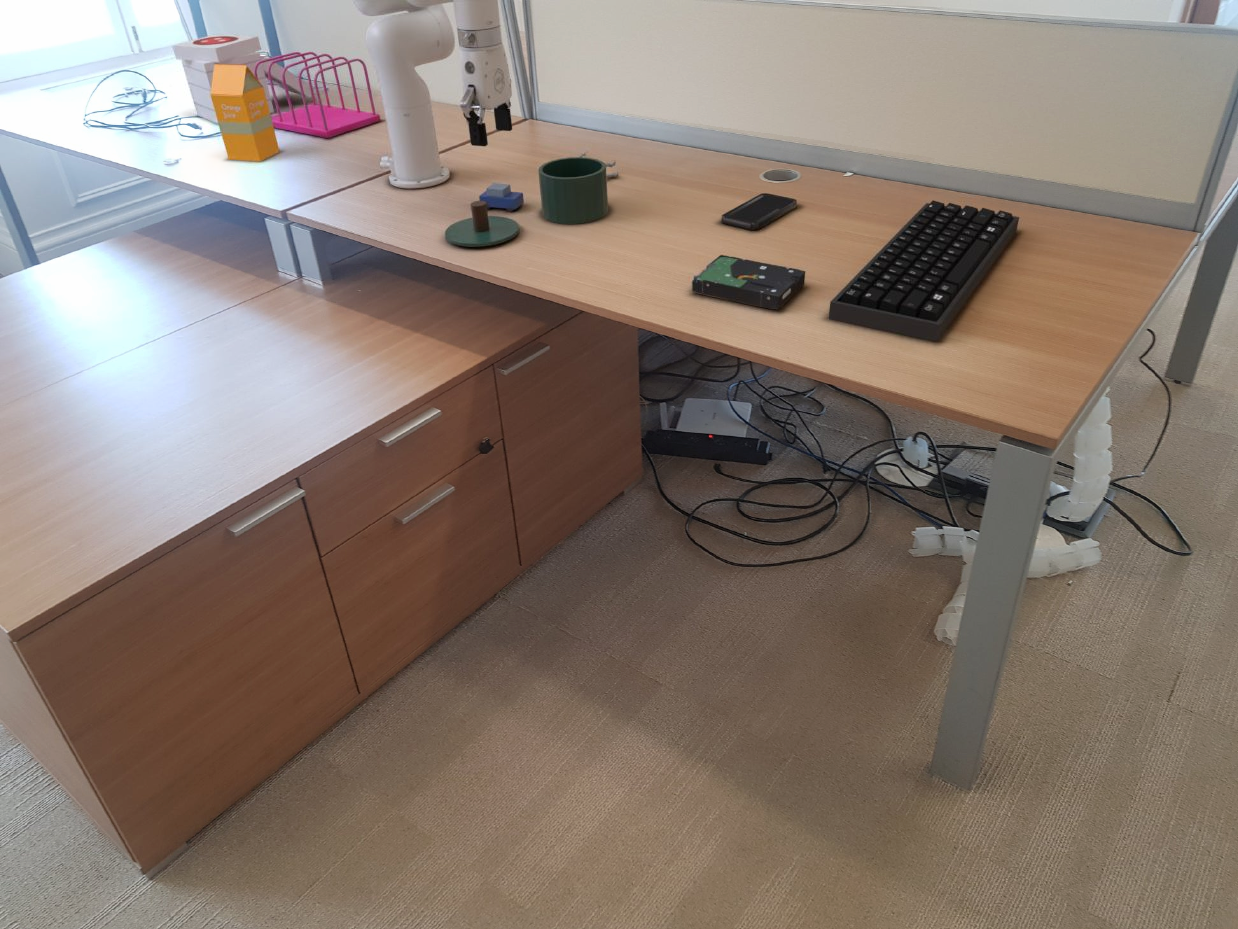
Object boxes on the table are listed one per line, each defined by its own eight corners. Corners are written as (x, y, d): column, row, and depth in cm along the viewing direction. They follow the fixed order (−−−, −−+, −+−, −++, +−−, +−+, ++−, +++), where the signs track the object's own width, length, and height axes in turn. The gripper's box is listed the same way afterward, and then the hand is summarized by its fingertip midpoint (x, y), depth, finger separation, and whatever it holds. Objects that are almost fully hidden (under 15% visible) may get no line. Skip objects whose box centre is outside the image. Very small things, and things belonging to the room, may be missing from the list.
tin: (532, 220, 175) (527, 175, 170) (558, 198, 185) (555, 155, 180) (593, 226, 171) (590, 180, 166) (617, 203, 181) (615, 159, 176)
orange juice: (259, 161, 213) (235, 68, 202) (227, 159, 216) (201, 67, 204) (280, 151, 219) (257, 60, 208) (249, 149, 222) (224, 59, 210)
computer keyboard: (936, 342, 130) (941, 317, 128) (828, 318, 137) (830, 294, 135) (1016, 232, 161) (1020, 210, 158) (924, 217, 168) (927, 196, 166)
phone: (719, 216, 169) (763, 192, 179) (719, 222, 170) (763, 197, 179) (756, 225, 165) (799, 199, 174) (756, 231, 166) (799, 205, 175)
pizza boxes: (321, 103, 255) (306, 31, 245) (216, 128, 239) (194, 52, 228) (288, 92, 267) (272, 23, 256) (185, 115, 251) (164, 43, 240)
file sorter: (328, 139, 226) (312, 70, 217) (262, 126, 238) (245, 60, 229) (381, 121, 237) (369, 55, 228) (316, 109, 249) (302, 46, 240)
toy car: (480, 209, 182) (477, 188, 179) (489, 202, 185) (486, 181, 182) (515, 212, 179) (513, 191, 177) (524, 205, 182) (522, 184, 180)
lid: (432, 245, 167) (426, 213, 164) (467, 219, 177) (463, 188, 174) (499, 253, 163) (494, 220, 160) (531, 225, 173) (528, 193, 170)
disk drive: (805, 286, 147) (719, 269, 153) (806, 270, 145) (720, 252, 152) (778, 313, 140) (690, 293, 146) (780, 296, 138) (690, 276, 145)
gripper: (475, 49, 155) (488, 153, 165) (521, 28, 168) (530, 125, 178) (436, 47, 158) (451, 150, 168) (484, 27, 171) (495, 123, 181)
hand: (492, 137), depth 173 cm, fingers open, 9 cm apart
